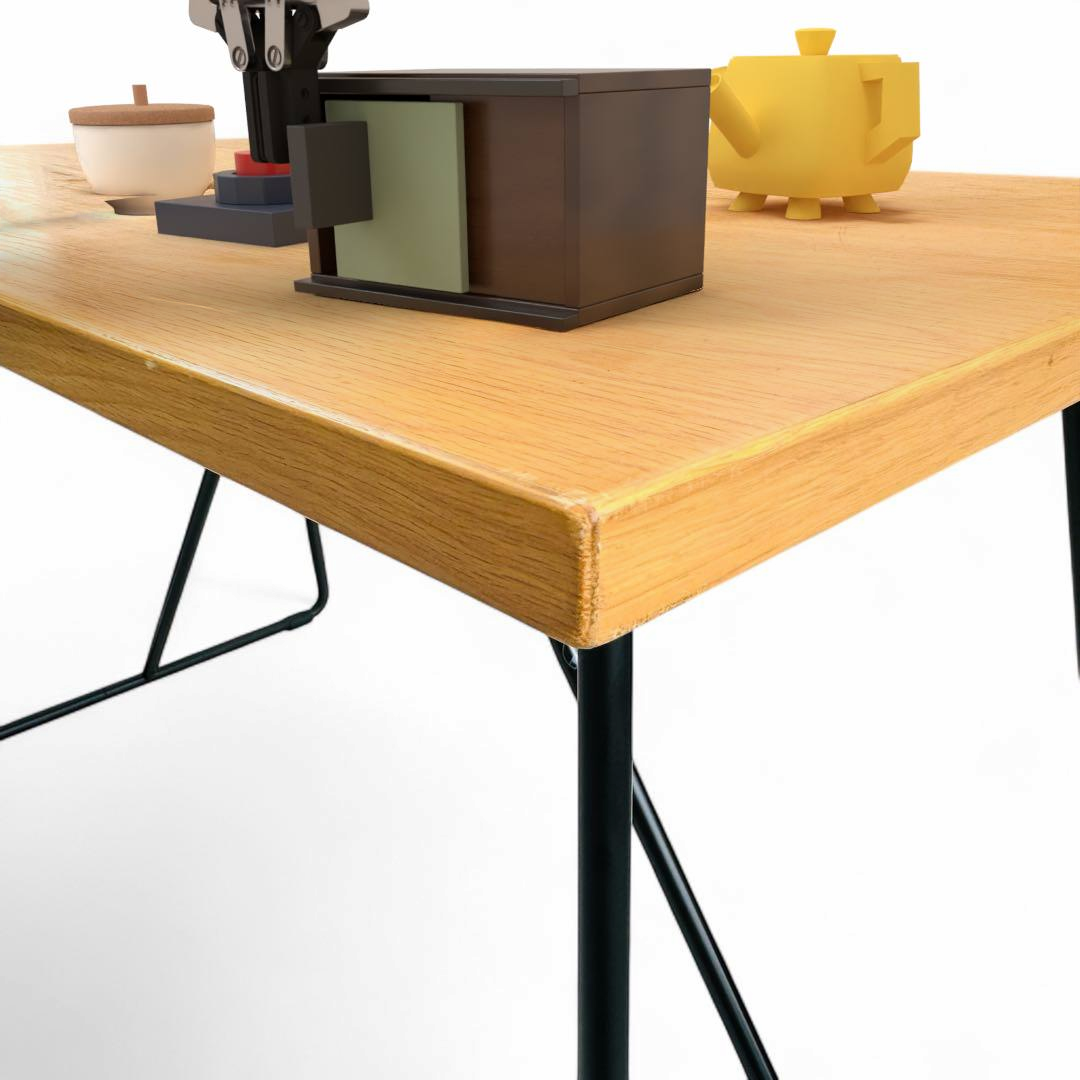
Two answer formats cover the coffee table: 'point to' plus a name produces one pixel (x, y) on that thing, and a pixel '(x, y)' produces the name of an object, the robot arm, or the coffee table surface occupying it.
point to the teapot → (813, 126)
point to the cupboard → (555, 190)
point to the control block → (236, 212)
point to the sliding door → (386, 190)
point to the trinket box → (145, 150)
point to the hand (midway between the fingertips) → (288, 160)
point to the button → (257, 166)
